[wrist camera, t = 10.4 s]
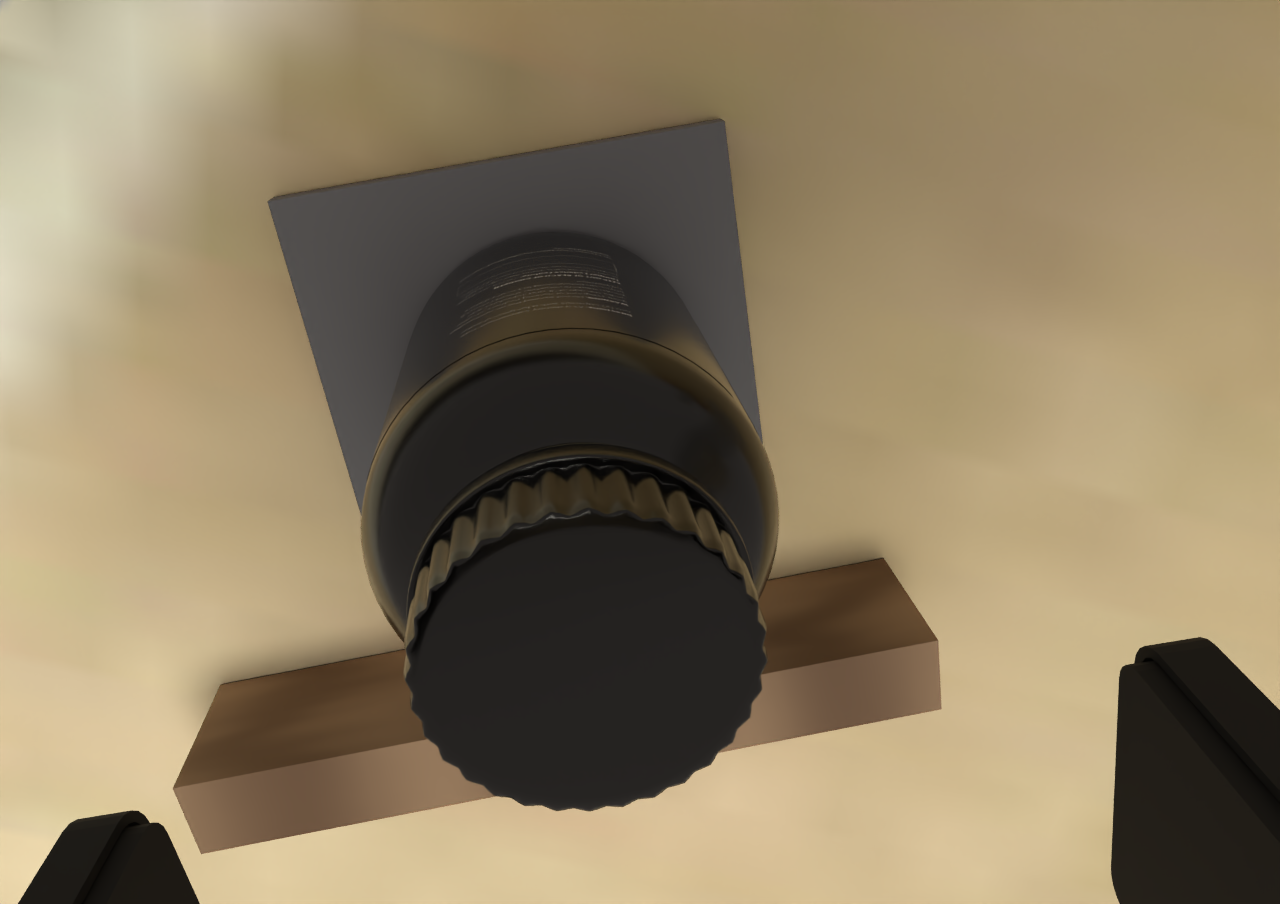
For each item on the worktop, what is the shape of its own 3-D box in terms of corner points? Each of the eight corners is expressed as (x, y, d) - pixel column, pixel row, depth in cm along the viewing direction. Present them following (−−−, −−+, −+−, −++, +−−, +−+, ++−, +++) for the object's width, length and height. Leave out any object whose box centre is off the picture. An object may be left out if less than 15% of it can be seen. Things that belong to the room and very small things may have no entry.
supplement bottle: (365, 441, 24) (233, 789, 13) (478, 174, 22) (431, 324, 11) (625, 542, 26) (697, 923, 15) (752, 303, 24) (944, 543, 13)
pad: (719, 118, 23) (724, 121, 22) (767, 513, 27) (772, 524, 26) (273, 196, 23) (267, 201, 22) (388, 585, 27) (385, 596, 26)
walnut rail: (883, 558, 28) (937, 640, 24) (888, 620, 29) (941, 709, 25) (220, 684, 27) (172, 788, 24) (243, 744, 28) (201, 853, 24)
